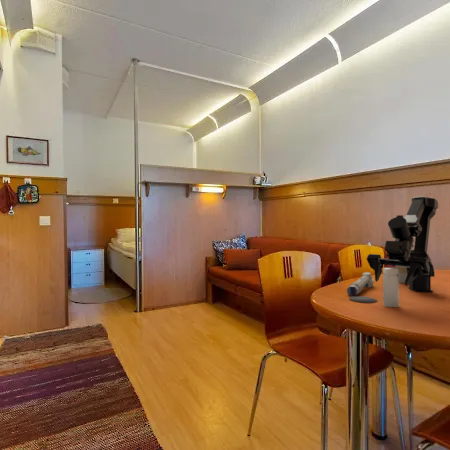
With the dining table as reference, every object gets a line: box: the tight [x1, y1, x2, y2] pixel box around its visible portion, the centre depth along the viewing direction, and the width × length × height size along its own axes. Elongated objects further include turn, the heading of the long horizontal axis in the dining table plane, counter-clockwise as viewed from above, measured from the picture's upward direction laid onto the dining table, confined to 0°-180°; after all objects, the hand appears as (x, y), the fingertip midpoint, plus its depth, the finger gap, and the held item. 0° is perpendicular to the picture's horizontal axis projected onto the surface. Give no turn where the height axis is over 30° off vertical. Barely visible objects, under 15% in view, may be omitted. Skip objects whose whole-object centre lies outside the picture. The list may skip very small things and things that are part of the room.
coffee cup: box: [395, 249, 414, 284], centre depth 143 cm, size 9×9×15 cm
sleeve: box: [382, 267, 400, 308], centre depth 103 cm, size 5×5×12 cm
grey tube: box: [346, 271, 375, 297], centre depth 128 cm, size 5×7×25 cm
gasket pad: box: [348, 295, 378, 304], centre depth 111 cm, size 9×9×1 cm
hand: (390, 282), depth 103 cm, fingers open, 9 cm apart
